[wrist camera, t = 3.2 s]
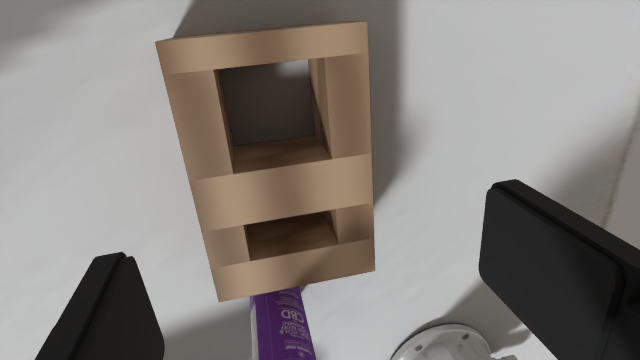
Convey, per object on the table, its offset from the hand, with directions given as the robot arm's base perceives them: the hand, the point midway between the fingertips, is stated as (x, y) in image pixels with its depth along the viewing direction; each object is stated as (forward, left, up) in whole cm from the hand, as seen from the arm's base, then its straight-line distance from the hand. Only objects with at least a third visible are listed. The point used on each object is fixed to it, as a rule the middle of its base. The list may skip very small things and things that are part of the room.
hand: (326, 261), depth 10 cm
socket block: (0, +4, -21) cm, 21 cm away
